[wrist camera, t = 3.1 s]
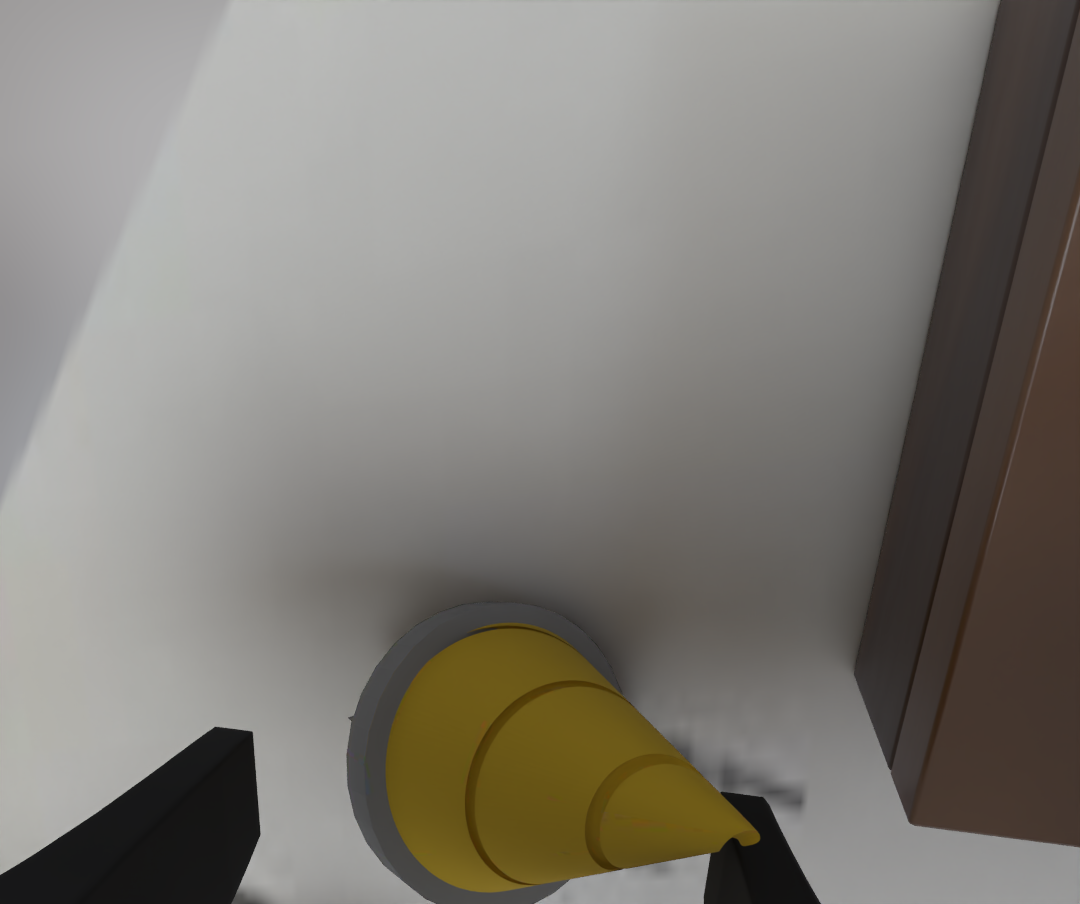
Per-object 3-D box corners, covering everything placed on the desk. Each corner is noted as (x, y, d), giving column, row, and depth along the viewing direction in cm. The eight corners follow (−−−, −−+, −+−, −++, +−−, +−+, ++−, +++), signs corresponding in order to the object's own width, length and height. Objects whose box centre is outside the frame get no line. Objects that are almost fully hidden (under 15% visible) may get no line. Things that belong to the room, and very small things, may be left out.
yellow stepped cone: (340, 575, 18) (612, 561, 10) (552, 627, 21) (918, 652, 12) (271, 846, 17) (518, 1107, 8) (507, 867, 19) (886, 1087, 11)
